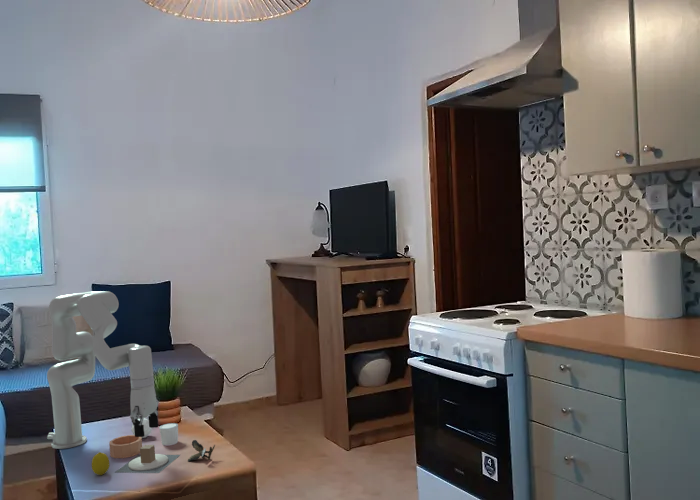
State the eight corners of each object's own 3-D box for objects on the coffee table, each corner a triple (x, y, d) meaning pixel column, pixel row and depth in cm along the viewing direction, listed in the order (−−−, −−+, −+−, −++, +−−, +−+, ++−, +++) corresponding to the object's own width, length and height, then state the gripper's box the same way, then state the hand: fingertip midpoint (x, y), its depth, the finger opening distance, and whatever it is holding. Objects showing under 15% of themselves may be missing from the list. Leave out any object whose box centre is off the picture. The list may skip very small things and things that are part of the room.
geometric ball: (139, 443, 250) (137, 424, 254) (157, 435, 249) (154, 416, 253) (128, 440, 244) (125, 420, 248) (146, 432, 243) (143, 412, 247)
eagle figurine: (217, 451, 225) (193, 446, 226) (214, 439, 220) (190, 434, 222) (208, 470, 219) (184, 465, 220) (205, 457, 214) (180, 452, 216)
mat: (114, 473, 213) (114, 472, 213) (139, 455, 228) (138, 454, 228) (159, 474, 210) (158, 472, 210) (180, 456, 225) (180, 454, 225)
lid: (121, 470, 214) (119, 453, 214) (140, 456, 227) (139, 440, 226) (157, 471, 211) (155, 453, 211) (174, 456, 224) (173, 440, 224)
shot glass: (182, 440, 242) (180, 422, 242) (175, 447, 235) (174, 428, 235) (164, 441, 243) (163, 423, 242) (157, 447, 236) (156, 429, 236)
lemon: (95, 473, 214) (93, 450, 214) (112, 471, 215) (110, 448, 214) (90, 480, 209) (88, 456, 208) (107, 478, 209) (105, 454, 209)
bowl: (104, 459, 227) (103, 445, 227) (120, 448, 238) (119, 434, 238) (132, 459, 225) (131, 445, 225) (148, 448, 236) (147, 435, 236)
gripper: (145, 376, 227) (149, 424, 227) (118, 389, 210) (123, 440, 210) (164, 375, 225) (168, 423, 226) (139, 388, 208) (144, 440, 209)
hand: (147, 431), depth 218 cm, fingers open, 9 cm apart
